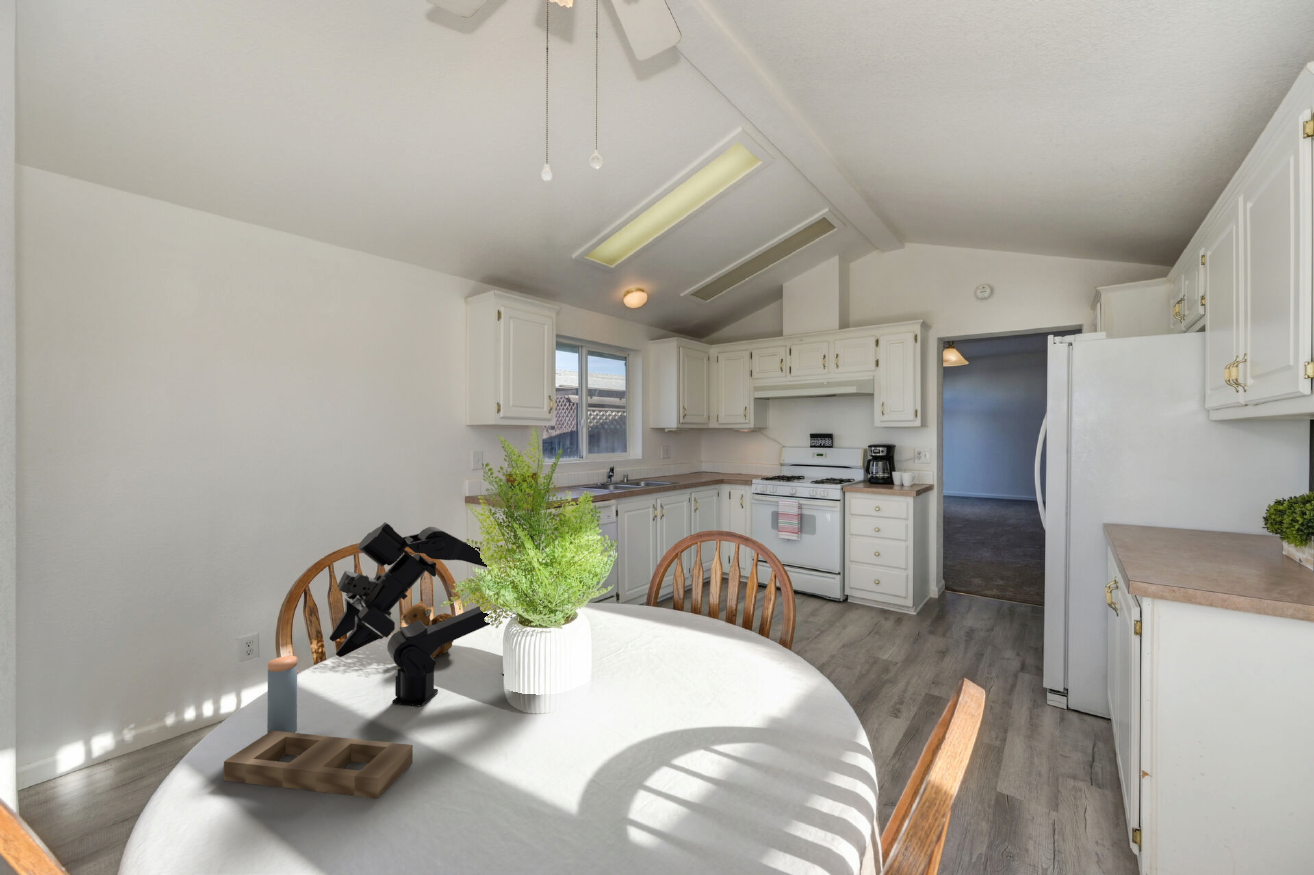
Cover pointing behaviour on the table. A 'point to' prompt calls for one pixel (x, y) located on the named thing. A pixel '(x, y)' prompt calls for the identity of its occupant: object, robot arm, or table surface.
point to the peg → (282, 694)
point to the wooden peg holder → (320, 763)
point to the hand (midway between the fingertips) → (334, 647)
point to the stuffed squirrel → (426, 621)
